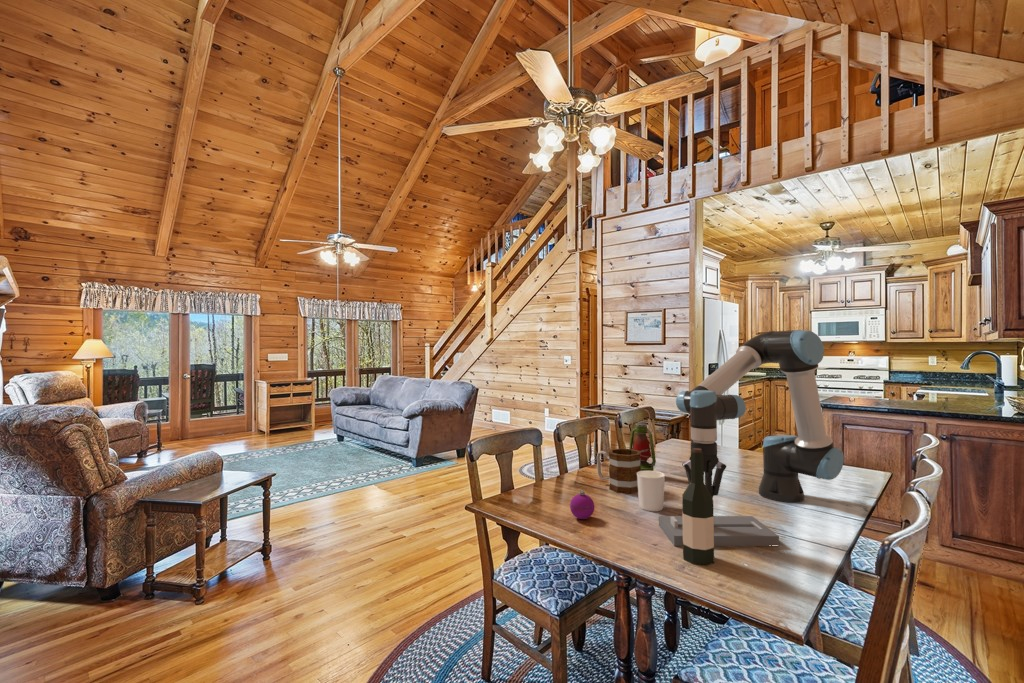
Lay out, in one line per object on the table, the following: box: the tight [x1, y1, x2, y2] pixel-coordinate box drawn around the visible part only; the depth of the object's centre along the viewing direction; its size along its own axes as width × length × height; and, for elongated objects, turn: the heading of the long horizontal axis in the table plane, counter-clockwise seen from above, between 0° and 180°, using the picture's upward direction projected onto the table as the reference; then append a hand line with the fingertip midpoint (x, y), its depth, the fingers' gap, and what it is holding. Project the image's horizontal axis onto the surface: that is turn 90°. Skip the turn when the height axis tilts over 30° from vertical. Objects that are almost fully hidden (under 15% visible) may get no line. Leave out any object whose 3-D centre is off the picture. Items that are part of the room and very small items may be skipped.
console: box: [658, 515, 780, 547], centre depth 145 cm, size 30×16×5 cm, turn 88°
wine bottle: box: [681, 448, 715, 567], centre depth 129 cm, size 8×8×30 cm
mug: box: [596, 447, 641, 495], centre depth 195 cm, size 20×14×15 cm
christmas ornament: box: [569, 488, 595, 520], centre depth 160 cm, size 8×8×10 cm
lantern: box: [628, 407, 657, 471], centre depth 212 cm, size 14×11×30 cm
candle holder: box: [637, 470, 666, 512], centre depth 170 cm, size 10×10×12 cm
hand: (704, 517), depth 145 cm, fingers closed
